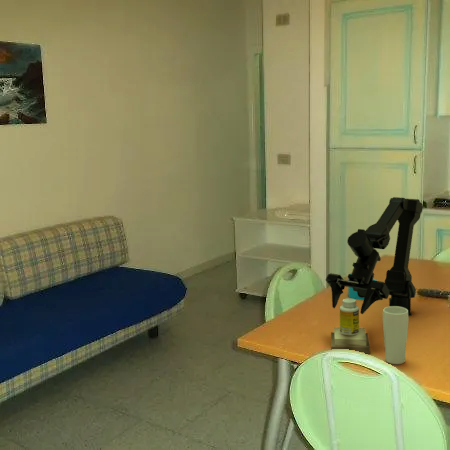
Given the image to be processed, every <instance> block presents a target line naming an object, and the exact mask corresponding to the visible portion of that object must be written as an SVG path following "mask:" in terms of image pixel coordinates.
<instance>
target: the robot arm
mask: <svg viewBox="0 0 450 450" xmlns="http://www.w3.org/2000/svg"><path fill="white" fill-rule="evenodd" d="M423 209H424V206H423V203H422V202H421V200H420V199H418V198H417V199H416V198H405V197H397V196H394V197H391V198H390V199H389V203H388V205H387V206H386V208H385V209H384V211H383V212H382V214H381V215H380V217H379V218H378V220H377V221H376V223H374V224H370V225H369V226H368V227H367V228H366V230H365V229H364V228H363V229H361V228H358V229H357V230H356V231H355V232H353V233H351V234H350V235H349V236H348V237H347V240H346V241H347V245H348V247H349V248H350V249H351V251H352V252H353V254H354V255H355V257H357V259H356V261H355V262H353V263H352V267H353V268H352V272H351V273H349V274H348V276H347V278H349V280H348V279H344V278H343V276H342V275H341V274H338V273H337V274H336V273H332V272H330V273H328V274H327V276H326V278H325V281H326V283H327V284H328V286H330V289H331V302H332V303H331V304H332V305H331V307H332V309H336V307H337V305H338V302H339V300H340V297H341V295H343V294H344V290H345V288H348V287H352V288H353V291H356V292H357V294H358V296H359V297H361V298H364V300H363V301H362V303H361V308H360V311H359V314H361V315H364V313H365V312H366V311H367V310H368V309H369V308H370V307H371V306H372V304H374V303H375V302H377V301H383V300H388V307H389V306H399V307H403V308H406V309H407V310H408V316H412V311H411V309H412V307H411V306H412V304H411V303H412V301H411V299H413V298H416V293H417V288H416V286H414V284H413V282H412V281H413V280H412V278H413V277H412V274H411V271H410V270H409V262H410V254H411V249H412V248H411V247H412V240H413V233H414V227H415V225H416V224H417V222H418V221H419V220H420V219H421V214H422V212H423ZM396 222H398V230H397V237H396V243H395V249H394V250H395V252H394V257H393V258H394V260H393V265H392V267H391V268H390V269H387V271H386V274H385V280H384V281H380V280H377V281H375V280H376V279H375V274H374V270H375V267H376V265H377V262H381V259H382V258H381V255H380V254H379V253H380V252H379V251H377V250H378V249H379V250H385V249H386V248H387V247H388V246H389V244H390V240H391V236H390V232H391V231H392V230H393V228H394V226H395V225H396ZM373 279H375V280H373ZM389 296H390V297H389Z"/></svg>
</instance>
